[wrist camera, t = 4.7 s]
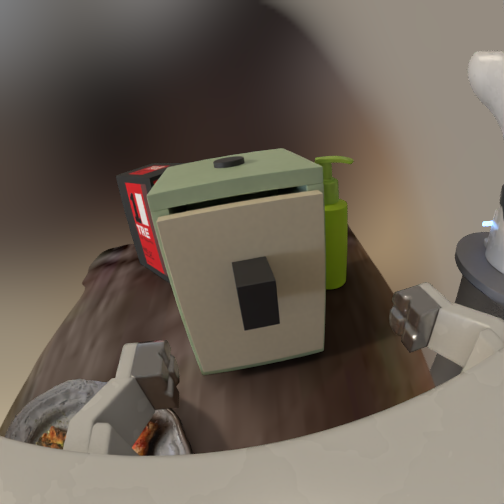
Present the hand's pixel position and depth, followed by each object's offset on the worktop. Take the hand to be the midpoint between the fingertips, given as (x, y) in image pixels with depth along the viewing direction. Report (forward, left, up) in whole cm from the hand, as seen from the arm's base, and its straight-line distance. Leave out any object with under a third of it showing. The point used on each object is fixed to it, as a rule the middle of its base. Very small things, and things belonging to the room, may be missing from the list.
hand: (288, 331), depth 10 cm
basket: (0, -20, -18) cm, 27 cm away
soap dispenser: (-14, -31, -20) cm, 40 cm away
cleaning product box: (+13, -46, -20) cm, 52 cm away
